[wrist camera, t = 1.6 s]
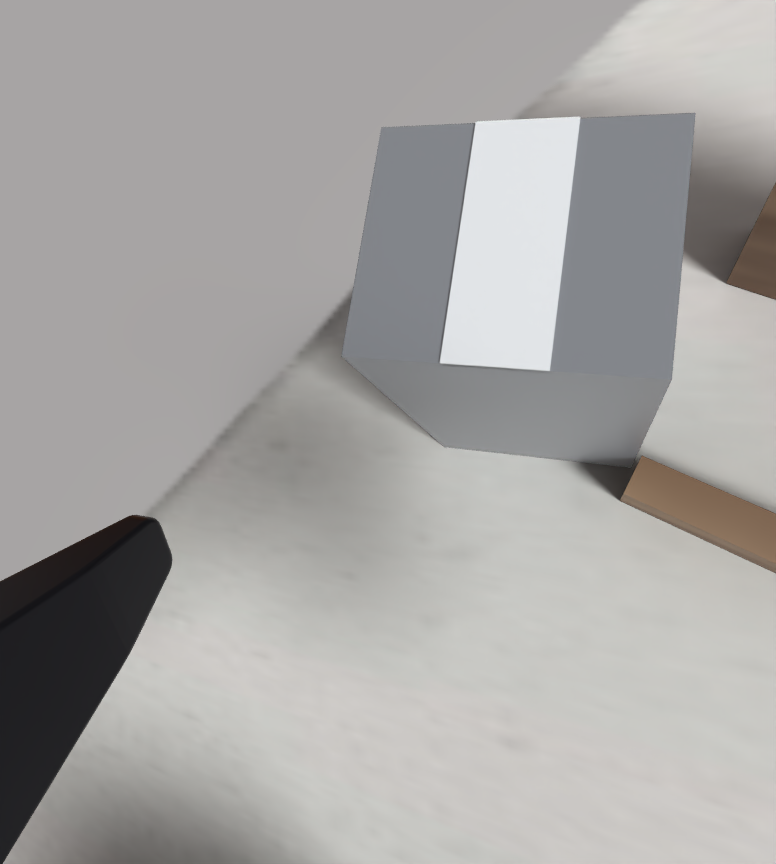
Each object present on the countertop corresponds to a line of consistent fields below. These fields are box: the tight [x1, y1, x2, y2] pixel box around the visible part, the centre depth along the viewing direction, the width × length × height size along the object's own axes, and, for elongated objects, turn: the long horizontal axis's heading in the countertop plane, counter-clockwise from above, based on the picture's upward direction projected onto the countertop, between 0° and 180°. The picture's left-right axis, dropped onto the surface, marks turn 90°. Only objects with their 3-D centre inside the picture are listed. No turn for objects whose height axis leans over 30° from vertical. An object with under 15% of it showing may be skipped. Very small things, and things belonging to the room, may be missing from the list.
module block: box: [341, 113, 695, 468], centre depth 17 cm, size 5×6×10 cm
